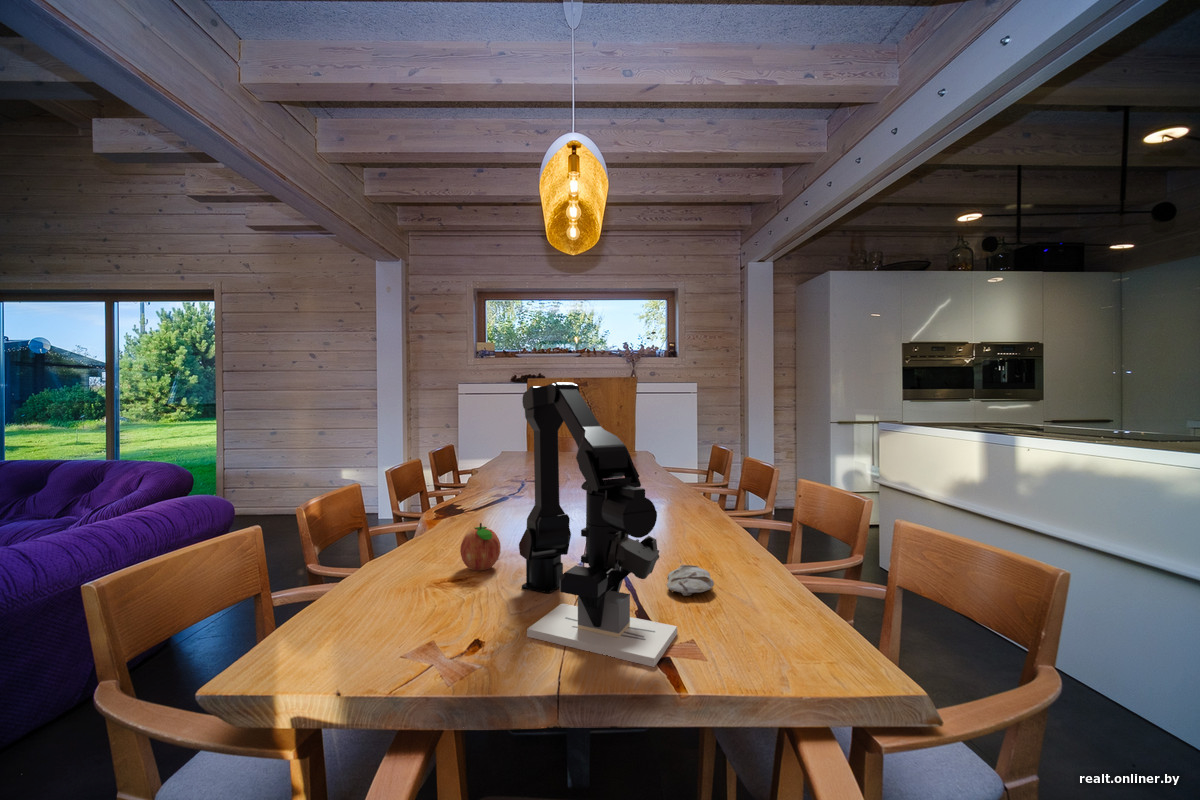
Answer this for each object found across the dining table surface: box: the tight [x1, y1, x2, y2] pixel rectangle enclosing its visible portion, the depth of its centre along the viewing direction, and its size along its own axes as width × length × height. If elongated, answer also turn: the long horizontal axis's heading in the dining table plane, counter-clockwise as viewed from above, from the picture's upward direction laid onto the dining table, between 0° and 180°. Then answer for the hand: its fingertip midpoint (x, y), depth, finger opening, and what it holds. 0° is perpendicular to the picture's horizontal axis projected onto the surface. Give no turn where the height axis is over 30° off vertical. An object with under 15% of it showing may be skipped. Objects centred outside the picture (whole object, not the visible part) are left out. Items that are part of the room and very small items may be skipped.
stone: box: [666, 564, 715, 597], centre depth 100 cm, size 12×9×3 cm
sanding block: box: [577, 591, 631, 637], centre depth 80 cm, size 7×4×5 cm, turn 65°
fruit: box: [459, 522, 501, 571], centre depth 111 cm, size 9×10×10 cm
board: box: [526, 603, 678, 668], centre depth 80 cm, size 21×11×1 cm, turn 65°
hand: (603, 620), depth 80 cm, fingers closed on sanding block, 4 cm apart
